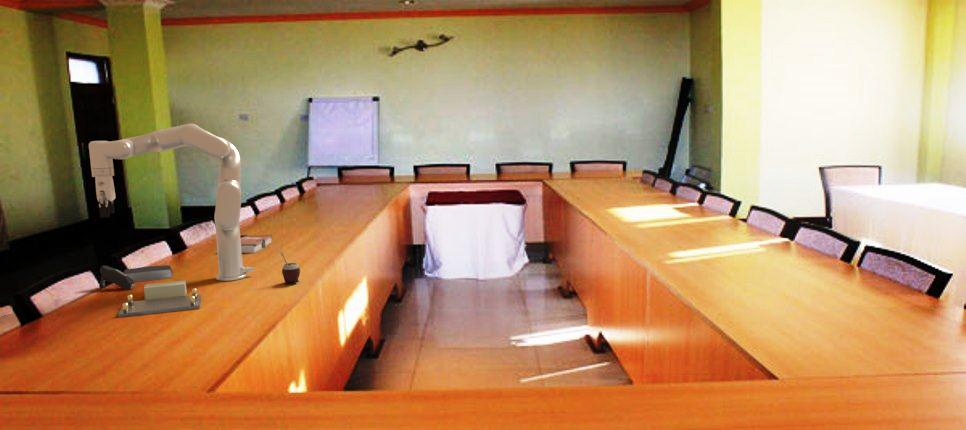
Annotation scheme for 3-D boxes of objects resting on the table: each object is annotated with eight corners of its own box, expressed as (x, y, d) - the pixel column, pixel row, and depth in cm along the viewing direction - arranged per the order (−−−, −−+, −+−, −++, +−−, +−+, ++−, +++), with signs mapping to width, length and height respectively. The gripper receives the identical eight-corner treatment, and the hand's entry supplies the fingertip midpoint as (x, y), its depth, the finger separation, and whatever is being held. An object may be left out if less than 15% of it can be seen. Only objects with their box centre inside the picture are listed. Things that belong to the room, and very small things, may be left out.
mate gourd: (303, 282, 263) (301, 247, 261) (286, 286, 258) (284, 250, 255) (294, 279, 268) (292, 245, 266) (277, 283, 263) (275, 248, 260)
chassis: (201, 297, 244) (200, 286, 243) (199, 308, 230) (198, 297, 229) (125, 305, 235) (124, 294, 234) (118, 317, 221) (116, 305, 220)
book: (255, 254, 320) (255, 244, 320) (221, 254, 321) (220, 244, 320) (273, 243, 346) (273, 234, 345) (241, 243, 347) (241, 234, 346)
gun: (125, 303, 257) (133, 282, 255) (93, 283, 259) (100, 263, 256) (131, 301, 260) (138, 280, 257) (99, 281, 261) (106, 261, 259)
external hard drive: (172, 279, 274) (171, 269, 273) (121, 284, 265) (120, 275, 265) (172, 272, 285) (171, 263, 285) (123, 277, 277) (122, 268, 276)
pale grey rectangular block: (186, 292, 252) (185, 280, 251) (185, 296, 246) (184, 284, 246) (147, 296, 247) (145, 284, 246) (145, 300, 241) (143, 288, 241)
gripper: (109, 173, 243) (114, 218, 245) (117, 170, 259) (122, 211, 261) (86, 174, 240) (91, 219, 243) (96, 171, 256) (101, 212, 259)
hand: (107, 215), depth 252 cm, fingers open, 9 cm apart
